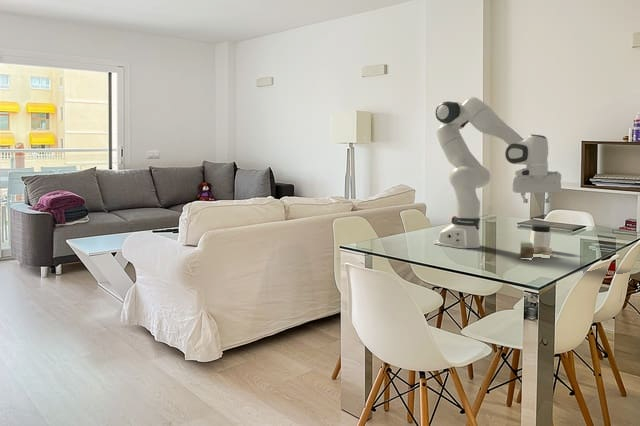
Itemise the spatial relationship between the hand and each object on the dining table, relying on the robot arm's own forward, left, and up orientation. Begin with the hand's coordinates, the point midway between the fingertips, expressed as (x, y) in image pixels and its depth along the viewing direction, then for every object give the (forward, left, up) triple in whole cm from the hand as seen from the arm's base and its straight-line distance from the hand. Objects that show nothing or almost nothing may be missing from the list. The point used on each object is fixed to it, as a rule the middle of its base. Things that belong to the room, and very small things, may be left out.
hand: (536, 203), depth 243 cm
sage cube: (-4, +9, -25) cm, 27 cm away
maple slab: (+3, +5, -25) cm, 26 cm away
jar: (+1, +21, -25) cm, 33 cm away
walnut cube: (-2, -5, -25) cm, 25 cm away
